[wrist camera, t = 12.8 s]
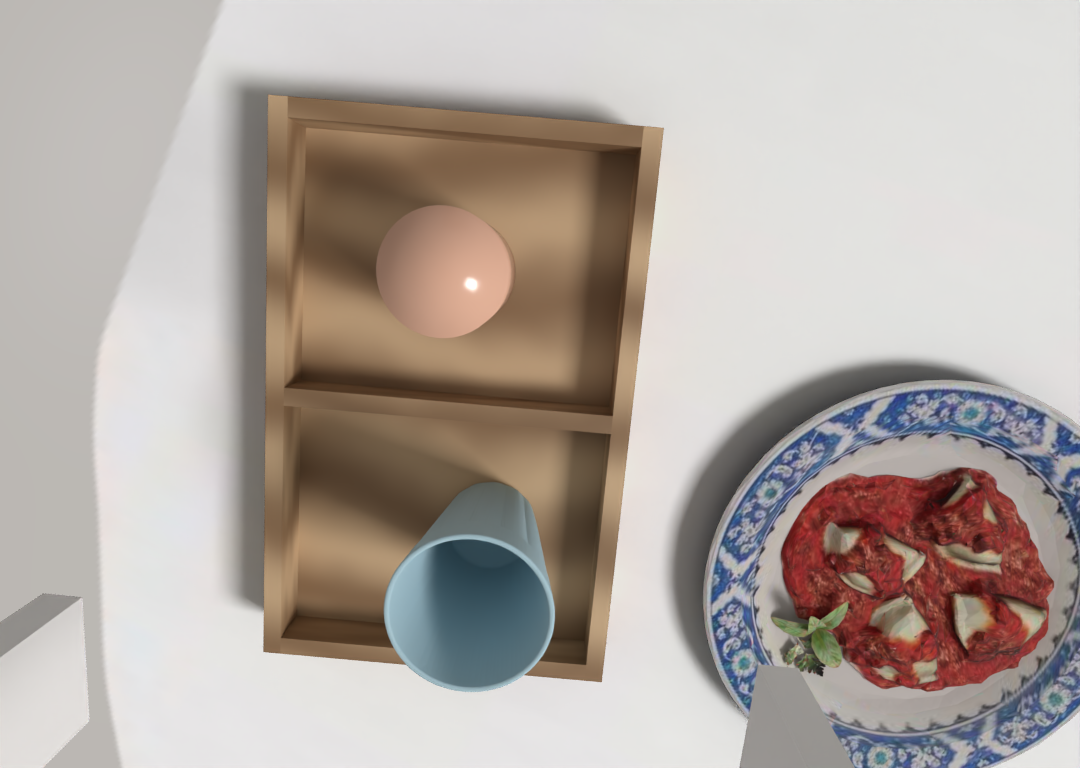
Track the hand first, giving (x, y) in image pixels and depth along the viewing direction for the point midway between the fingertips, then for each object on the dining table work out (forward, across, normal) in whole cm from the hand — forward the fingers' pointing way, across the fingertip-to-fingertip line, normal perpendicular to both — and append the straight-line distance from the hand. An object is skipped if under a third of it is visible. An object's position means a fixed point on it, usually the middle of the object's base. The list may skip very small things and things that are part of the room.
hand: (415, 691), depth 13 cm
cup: (+26, 0, -8) cm, 27 cm away
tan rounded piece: (+26, -3, +7) cm, 27 cm away
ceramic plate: (+27, +25, -9) cm, 38 cm away
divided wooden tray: (+27, -3, -1) cm, 27 cm away
